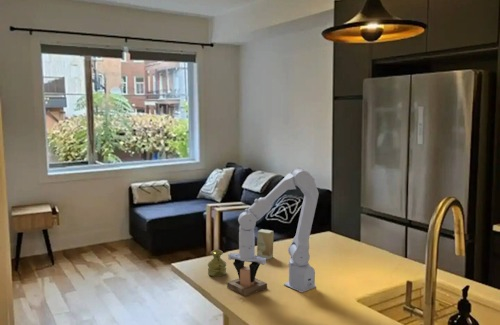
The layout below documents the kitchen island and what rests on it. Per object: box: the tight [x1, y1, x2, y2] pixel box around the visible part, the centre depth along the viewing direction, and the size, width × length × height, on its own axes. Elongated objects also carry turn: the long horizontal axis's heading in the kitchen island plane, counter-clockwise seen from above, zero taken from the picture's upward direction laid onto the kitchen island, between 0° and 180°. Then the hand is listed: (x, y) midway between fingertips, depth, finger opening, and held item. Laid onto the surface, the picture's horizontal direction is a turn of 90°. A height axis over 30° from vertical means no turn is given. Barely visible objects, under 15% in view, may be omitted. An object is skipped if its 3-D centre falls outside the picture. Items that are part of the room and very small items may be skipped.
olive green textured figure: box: [207, 248, 227, 278], centre depth 178 cm, size 7×7×10 cm
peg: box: [240, 265, 254, 287], centre depth 164 cm, size 4×4×7 cm
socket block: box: [226, 277, 268, 297], centre depth 164 cm, size 10×10×2 cm
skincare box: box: [256, 228, 275, 260], centre depth 197 cm, size 6×4×12 cm
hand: (247, 280), depth 164 cm, fingers closed on peg, 4 cm apart
